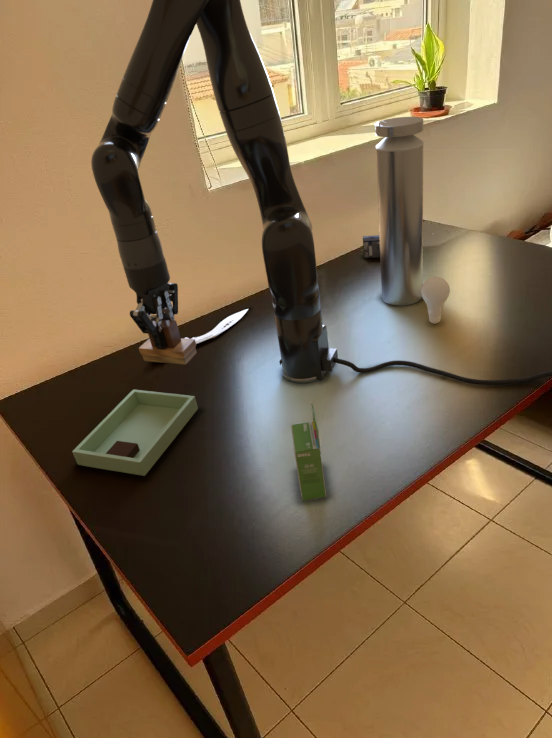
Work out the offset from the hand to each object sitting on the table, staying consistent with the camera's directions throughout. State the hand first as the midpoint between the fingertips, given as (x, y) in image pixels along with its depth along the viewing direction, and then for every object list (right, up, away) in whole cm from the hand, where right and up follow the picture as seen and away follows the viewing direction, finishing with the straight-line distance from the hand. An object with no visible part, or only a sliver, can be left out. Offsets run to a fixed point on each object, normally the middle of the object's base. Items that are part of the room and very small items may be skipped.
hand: (167, 342), depth 112 cm
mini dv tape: (+49, +31, +55) cm, 79 cm away
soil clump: (-6, -21, -10) cm, 24 cm away
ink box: (+28, -25, -21) cm, 43 cm away
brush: (0, -3, +2) cm, 3 cm away
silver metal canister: (+52, +15, +31) cm, 62 cm away
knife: (+3, +4, +27) cm, 27 cm away
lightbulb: (+57, +6, +18) cm, 60 cm away
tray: (-4, -18, -5) cm, 19 cm away
